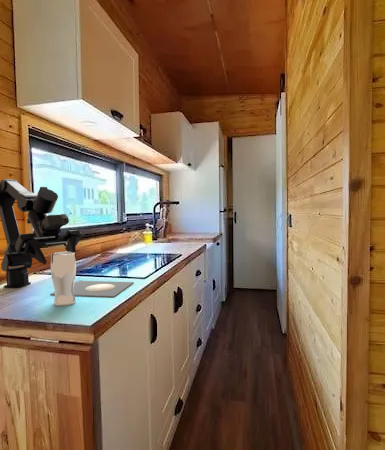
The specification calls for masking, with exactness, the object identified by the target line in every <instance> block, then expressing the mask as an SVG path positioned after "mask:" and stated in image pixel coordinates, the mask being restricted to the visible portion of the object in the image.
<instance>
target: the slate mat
mask: <svg viewBox="0 0 385 450" xmlns="http://www.w3.org/2000/svg"><path fill="white" fill-rule="evenodd" d="M133 284H134V281H109V280H108V281H105V280H78V281H76V282H75V283H74V296H75V297H90V298H93V297H94V298H115V297H117V296H118V295H119V294H121V293H122V292H124V291H125V290H126V289H128V288H129V287H130V286H132V285H133ZM127 287H128V288H127ZM123 290H124V291H123ZM49 294H50V296H55V291H53V292H52V293H49ZM116 295H117V296H116Z"/></svg>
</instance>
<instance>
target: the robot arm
mask: <svg viewBox="0 0 385 450" xmlns="http://www.w3.org/2000/svg"><path fill="white" fill-rule="evenodd" d="M58 198H59V195H58V193H56V192H55V191H54V190H52V189H50V188H48V187H47V186H40V187H39V190H38V192H36V193H35V192H32V191H29V190H28V189H27V188H26V187H25V186H23V185H21V184H20V183H19V181H18V180H16V179H9V178H4V179H1V180H0V220H1V225H2V229H3V233H4V237H5V241H6V245H7V246H6V247H5V250H4V253H3V258H2V260H1V262H0V263H1V264H0V268H1V271H3V272H5V275H6V276H5V277H6V278H5V279H6V284H5V285H3V288H10V289H11V288H12V289H13V288H15V289H18V288H22V287H24V286H28V285H30V284H31V283H32V282H31V281H29V272H28V269H31V268H32V267H33V266H32V265H33V259H35V260H36V261H38V262H39V263H41V264H43V265H45V266H46V265H47V263H48V261H47V259H46V256H45V254H44V253H43V251H42V249H41V248H40V247H41V245H54V244H63V246H64V247H65V248H64V249H65V252H75V260H76V259H77V249H76V246H78V244H79V242H80V241H81V238H82V236H83V235H82V232H81V231H80V230H79V229H74V230H73V229H72V230H70V229H69V230H66V233H65V235H59V234H60V233H62V229H61V228H63V227H65V226H67V224H69V222H70V220H69V217H68V216H67V214H66V213H61V214H50V213H52V212H53V211H54V207H55V206H56V203H57V201H58ZM15 202H16V207H17V208H18V209H19V211H20V212H22V213H27V215H26V216H27V220H26V223H27V224H28V225H29V224H31V227H32V230H33V232H32V233H31V232H30V233H20V229H19V226H18V222H17V219H16V214H15V210H14V205H15Z"/></svg>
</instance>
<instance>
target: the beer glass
mask: <svg viewBox="0 0 385 450" xmlns="http://www.w3.org/2000/svg"><path fill="white" fill-rule="evenodd" d="M76 274H77V262H76V259H75V252H67V251H58V252H53V253H51V254H50V277H51V280H52V284H53V289H54V292H55V295H54V298H53V299H54V300H53V305H54V306H56V307H65V306H71V305H74V304H75V303H76V302H77V301H76V296H74V283H75V280H76Z"/></svg>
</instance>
